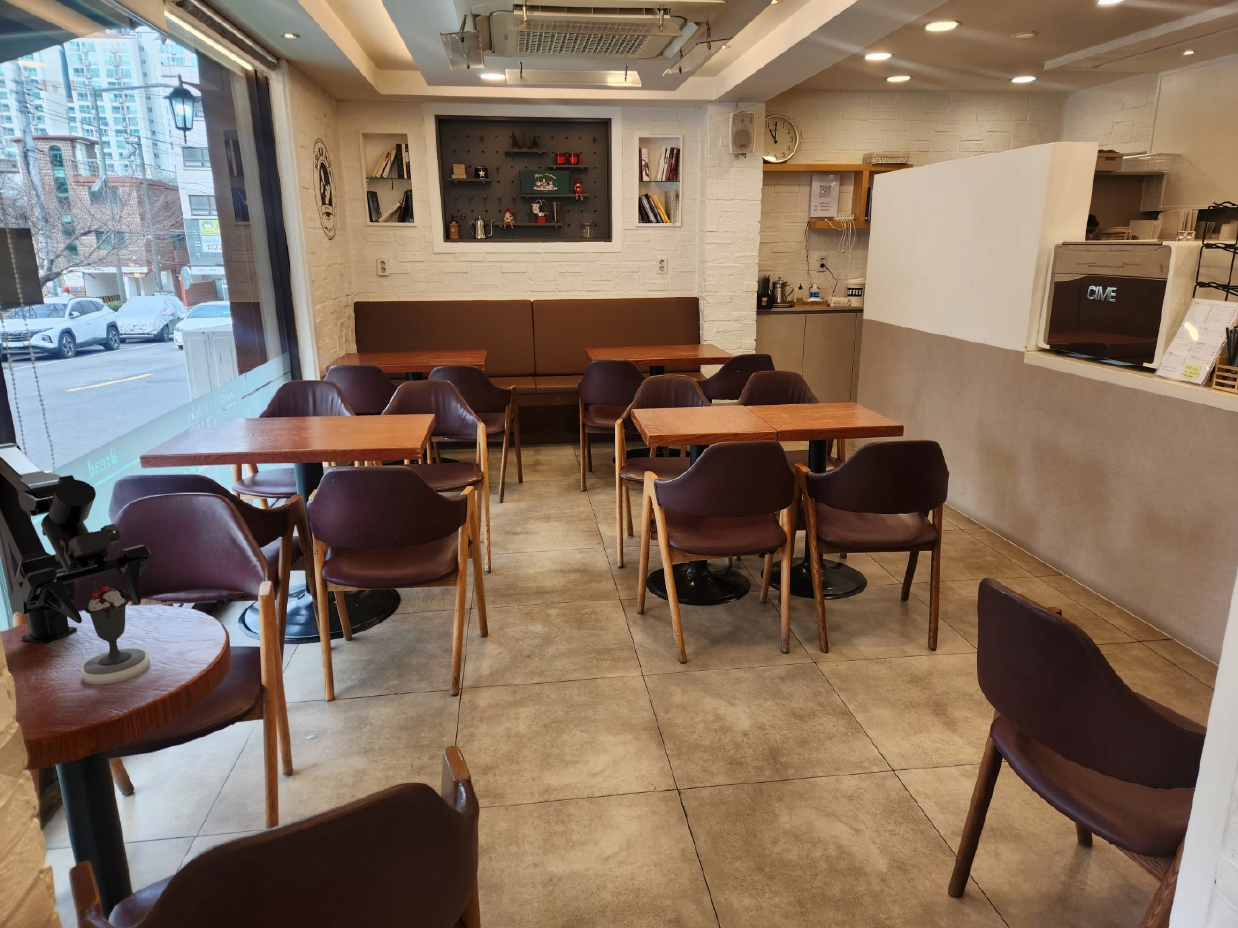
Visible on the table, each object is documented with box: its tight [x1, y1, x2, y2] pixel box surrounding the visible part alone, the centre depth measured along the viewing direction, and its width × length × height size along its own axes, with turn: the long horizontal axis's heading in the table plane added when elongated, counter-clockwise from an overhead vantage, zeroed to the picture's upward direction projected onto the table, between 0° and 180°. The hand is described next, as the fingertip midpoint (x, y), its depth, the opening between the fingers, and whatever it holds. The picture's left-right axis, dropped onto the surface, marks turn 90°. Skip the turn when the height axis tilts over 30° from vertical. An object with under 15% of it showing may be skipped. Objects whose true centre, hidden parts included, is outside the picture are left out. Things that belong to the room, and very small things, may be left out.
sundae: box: [83, 580, 132, 665], centre depth 134 cm, size 7×7×15 cm
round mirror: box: [80, 648, 151, 686], centre depth 135 cm, size 10×10×2 cm
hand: (110, 612), depth 132 cm, fingers open, 9 cm apart
